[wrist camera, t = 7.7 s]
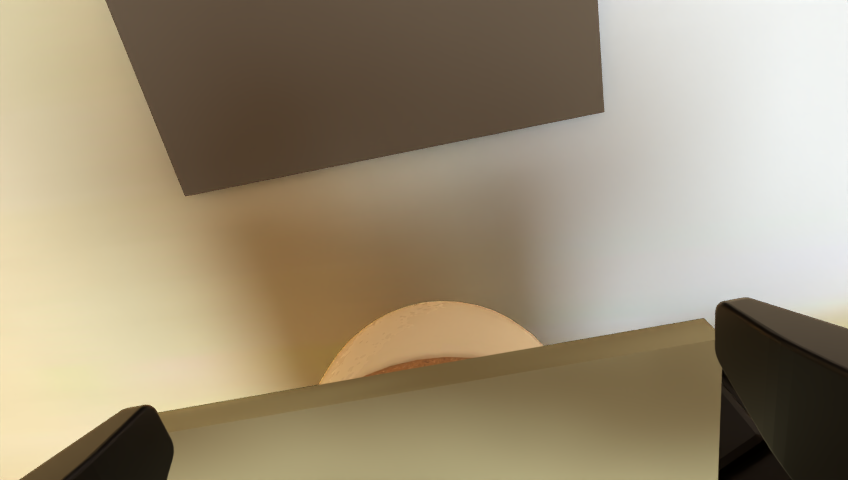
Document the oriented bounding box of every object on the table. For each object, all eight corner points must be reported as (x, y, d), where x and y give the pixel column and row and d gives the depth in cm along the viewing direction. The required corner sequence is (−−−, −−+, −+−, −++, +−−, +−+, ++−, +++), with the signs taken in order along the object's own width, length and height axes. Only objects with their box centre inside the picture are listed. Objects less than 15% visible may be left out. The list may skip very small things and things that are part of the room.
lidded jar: (271, 347, 23) (185, 544, 14) (465, 208, 21) (502, 346, 12) (418, 483, 26) (420, 709, 18) (599, 379, 24) (703, 581, 15)
